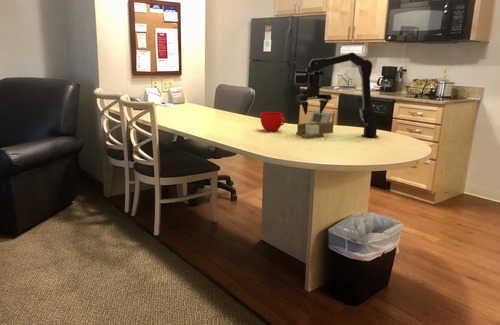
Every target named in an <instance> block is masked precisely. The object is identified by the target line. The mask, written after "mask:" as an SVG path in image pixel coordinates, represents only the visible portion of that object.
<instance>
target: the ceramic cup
mask: <svg viewBox="0 0 500 325" xmlns="http://www.w3.org/2000/svg"><path fill="white" fill-rule="evenodd" d="M259 114H260V115H259V116H260V118H259V120H260V124H261V126H262V128H263V129H264V131H265V132H269V133H275V132H278V130H279V129H280V128H281V127H282V126H284V125H285V123H286V119H285V117H284V113H282V112H277V111H264V112H260V113H259Z"/></svg>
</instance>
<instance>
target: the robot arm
mask: <svg viewBox="0 0 500 325" xmlns="http://www.w3.org/2000/svg"><path fill="white" fill-rule="evenodd" d="M344 62H345V63H346V62H352V64H354V65H355V66H356V67H357V68H358V73H359V76H360V80H361V94H362V95H361V96H362V105H361V106H362V107H361V108H359V110H358V111H359V117H360V119H361V121H363V124H364V125H363V126H364V127H363V134H360V135H361V136H362V137H365V138H379V135H377V130H378V126H379V121H378V120H377V119H376V118H375V114H374V113H375V112H374V109H373V107H372V95H371V94H372V93H371V76H372V69H373V62H371V61H370V60H368V59H364V58H362V56H361V57H360V56H359V55H357V54H356V53H355V52H348V53H346V54H340V55H337V56H336V55H335V56H331V57H328V58H327V57H326V58H313V59H311V60H310V61H309V65H308V67H307V68H306V70H295V73H294V74H295V75H294V85H306V84H307V83H308V85H307V86H306V88H305V87H301V88H300V90H299V94H297V95H296V97H295V101H297V102H298V103H300V105H301V106H302V110H303V113H304V115H307V114H308V108H309V101H308V100H318V101H319V110H320V113H322V111H324V109H325V108H326V106H327V104H328V103H329V102H330V101H331V100H332V98H333V97H332V94H331V93H330V94H329V93H321V89H322V86H321V76H324V75H325V73H324V72H323V70H322V69H324V68H327V67H329V66H332V65H337V64H342V63H344ZM312 72H313V73H312Z"/></svg>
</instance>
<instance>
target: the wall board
mask: <svg viewBox="0 0 500 325" xmlns="http://www.w3.org/2000/svg"><path fill="white" fill-rule="evenodd" d="M306 124H310V123H309V122H308V123H298V124H297V128H296V129H297V130H296V131H297V132H295V135H296V136H297V137H299V138H302V139H306V140H309V139H319V138H324V134H332V133H334V121H329V122H320V123H313V124H315V125H318V126H319V134H315V135H305V125H306Z"/></svg>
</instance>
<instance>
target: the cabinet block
mask: <svg viewBox="0 0 500 325" xmlns="http://www.w3.org/2000/svg"><path fill="white" fill-rule="evenodd" d="M305 124H306V123H305ZM315 134H319V126H318V125H315V124H313V123H310V124H306V125H305V135H315Z"/></svg>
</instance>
